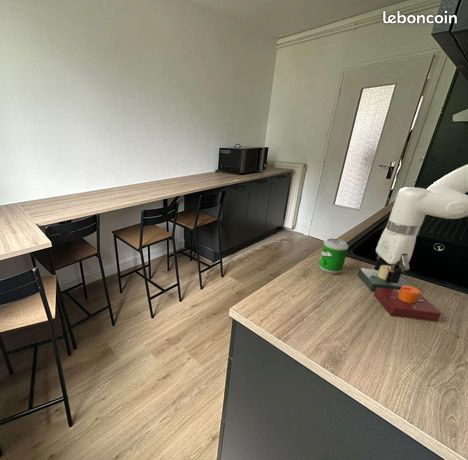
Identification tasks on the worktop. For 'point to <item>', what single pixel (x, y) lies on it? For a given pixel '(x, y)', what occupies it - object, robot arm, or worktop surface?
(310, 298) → the worktop surface
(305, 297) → the worktop surface
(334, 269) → the soda can
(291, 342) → the worktop surface
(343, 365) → the worktop surface
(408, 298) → the seal
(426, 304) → the handle plate
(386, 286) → the handle plate
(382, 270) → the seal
